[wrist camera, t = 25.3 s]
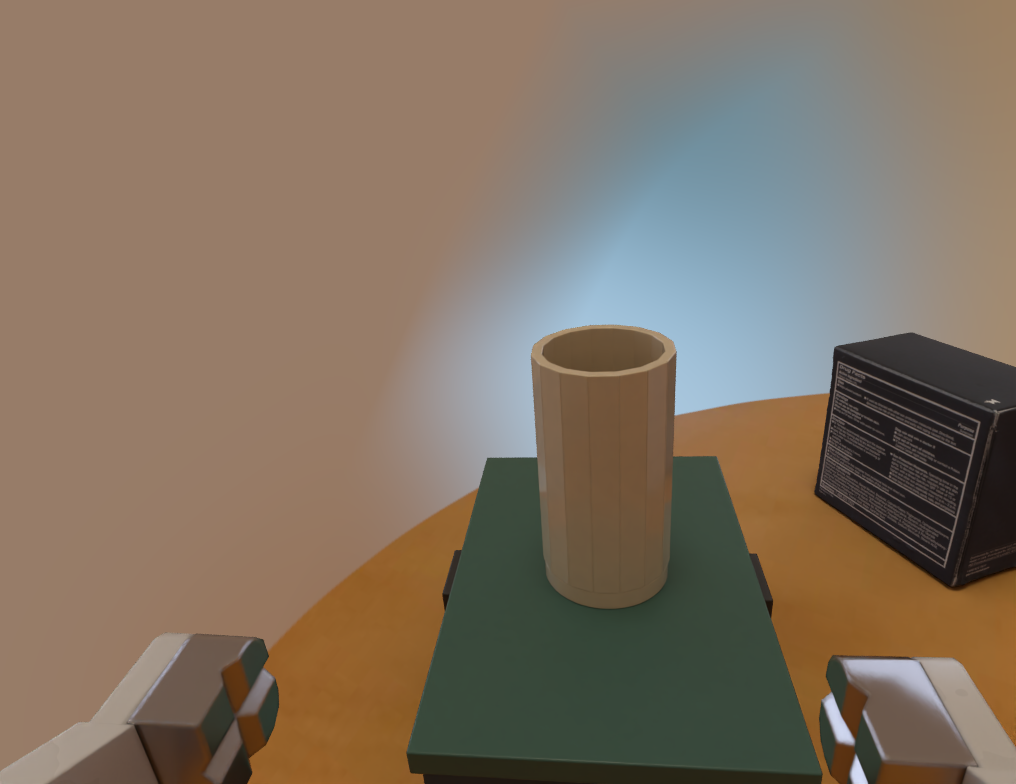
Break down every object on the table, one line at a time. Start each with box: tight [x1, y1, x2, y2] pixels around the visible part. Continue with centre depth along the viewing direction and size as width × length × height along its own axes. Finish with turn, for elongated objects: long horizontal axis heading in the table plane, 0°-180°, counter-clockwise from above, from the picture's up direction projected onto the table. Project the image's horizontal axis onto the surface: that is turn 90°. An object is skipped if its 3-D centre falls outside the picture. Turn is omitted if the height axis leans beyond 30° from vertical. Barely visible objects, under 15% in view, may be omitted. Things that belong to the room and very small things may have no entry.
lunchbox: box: [406, 456, 823, 784], centre depth 30 cm, size 19×14×7 cm
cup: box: [531, 325, 676, 609], centre depth 27 cm, size 5×5×10 cm
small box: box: [815, 333, 1016, 586], centre depth 39 cm, size 11×6×10 cm, turn 19°
